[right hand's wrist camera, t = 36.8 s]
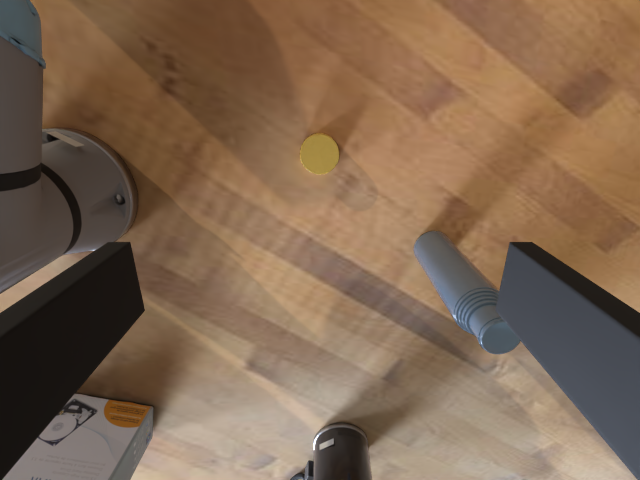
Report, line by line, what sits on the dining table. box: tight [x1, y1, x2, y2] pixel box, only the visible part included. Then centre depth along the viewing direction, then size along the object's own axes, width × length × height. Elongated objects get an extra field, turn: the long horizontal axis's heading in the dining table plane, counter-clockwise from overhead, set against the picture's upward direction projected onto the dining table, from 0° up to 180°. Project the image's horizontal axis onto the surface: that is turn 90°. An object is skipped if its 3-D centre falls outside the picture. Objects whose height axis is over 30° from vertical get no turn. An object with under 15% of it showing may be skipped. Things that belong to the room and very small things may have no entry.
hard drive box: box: [2, 394, 153, 480], centre depth 49 cm, size 16×8×20 cm, turn 78°
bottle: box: [414, 231, 520, 354], centre depth 38 cm, size 5×5×20 cm
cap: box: [300, 133, 340, 174], centre depth 42 cm, size 5×5×2 cm
